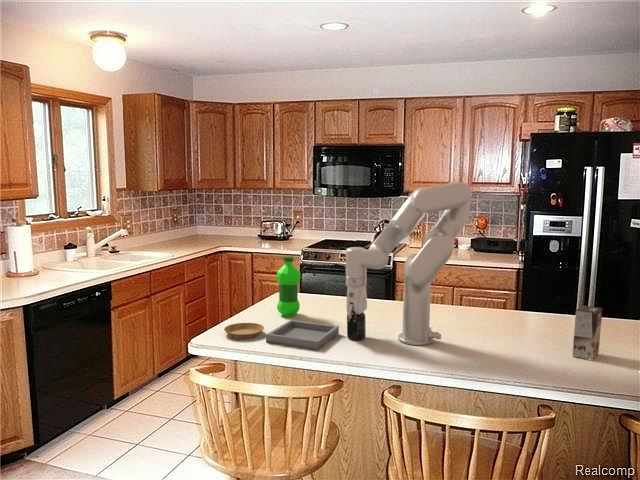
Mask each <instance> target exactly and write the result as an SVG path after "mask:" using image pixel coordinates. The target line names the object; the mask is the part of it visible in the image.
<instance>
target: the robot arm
mask: <svg viewBox="0 0 640 480" xmlns="http://www.w3.org/2000/svg"><path fill="white" fill-rule="evenodd" d="M472 193H473V192H472V189H471V187H470V185H468V184H467V183H465V182H463V181H450V182H449V183H447V184H442V185H437V186H432V187H431V186H430V187H418V188H416V189H414V190H413V191H412V192H411V194H410V195H409V196H408V197H407V199H406V200H405V201H404V203H403V205H401V207H400V208H399V210H398V211H397V212H396V213H395V214H394V216H393V217H392V219H391V220H390V221H389V222H388V224H387V225H386V226H385V228H384V229H383V230H382V231H381V232H380V234H379V235H378V236H377V237H376V239H375V240H374V241H373V242H372V244H371V245H370V246H369V248H368V249H366V248H364V247H360V246H351V247H348V248H347V249H346V250H345V286H346V287H347V290H346V312H347V313H346V316H347V315H348V331H349V332H354V333H356V332H357V322H356V319H357V314H358V315H359V314H361V313H362V312H363V313H364V314H365V311H366V310H367V309H368V299H367V298H368V297H367V296H368V294H367V293H368V292H367V284H368V283H367V282H368V281H367V280H368V279H367V276H368V275H367V270H368V269H372V270H380V269H383V268H385V267H387V265H388V263H389V257H390V254H391V253H392V251H393V250H394V249H395V248H396V247H397V245H398V244H399V243H400V242H402V241H403V240H404V239H406V238H407V237H409V236H410V235H412V234H413V232H414V230H415V229H416V228H417V227H418V226H419V224H420V223H421V221H422V220H423V219H424V217H425V216H426V215H427V214H430V213H436V212H437V213H438V212H442V211H443V213H442V215H441V216H440V218H438V221H436V223H435V225H434V226H433V227H432V228H431V230H430V231H429V232H428V233H426V236H424V238H423V242H422V243H423V246H422V247H421V249H420V250H419V252H418V253H412V254H411V255H409V256H408V257H407V258H406V260H405V262H404V265H403V300H402V301H403V302H402V303H403V304H402V307H403V308H402V332H401V333H399V334H398V336H397V340H398V341H399V342H401V343H404V344H406V345H410V346H411V345H412V346H425V345H426V346H427V345H430V344H432V343H433V342H434V339H435V340H441V339H442V334H441V333H440V332H438V331H433V330H432V327H430V320H431V319H430V318H431V317H430V316H431V298H432V297H431V296H432V295H431V293H432V291H431V290H432V283H431V282H432V281H433V280H434V279H435V278H436V276H437V275H438V274H439V273H440V271H441V270H442V269H443V267H444V266H445V265H446V263H447V262H448V261H449V260H450V258H451V257H452V255H453V253H454V250H455V239H456V238H457V237H458V236H459V235H460V233H461V231H462V230H463V228H464V227H465V226H466V224H467V222H468V220H469V216H470V211H471V210H470V209H471V208H470V207H471V205H470V201H471V200H472V196H473V194H472ZM352 311H353V312H355V313H352ZM352 315H355V316H352Z"/></svg>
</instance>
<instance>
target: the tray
mask: <svg viewBox="0 0 640 480" xmlns="http://www.w3.org/2000/svg"><path fill="white" fill-rule="evenodd" d="M339 328H340V326H338V325H332V324H331V325H330V324H325V323H316V322H309V321H302V320H292V319H290V320H289V321H286V322H285V323H283V324H281V325H280V326H279V327H277V328H274V329H273V330H271V331H269V332H268V333H266V334H265V342H266V343H267V344H273V345H281V346H287V347H293V348H300V349H306V350H313V351H319V350H320V349H321V348H322V347H324V346H325V345H327V344H328V343H330V342H331V341H332V340H333V339H334V338H336V337H337V336H338V335H339V334H340V333H339V332H340V331H339V330H340V329H339Z"/></svg>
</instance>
